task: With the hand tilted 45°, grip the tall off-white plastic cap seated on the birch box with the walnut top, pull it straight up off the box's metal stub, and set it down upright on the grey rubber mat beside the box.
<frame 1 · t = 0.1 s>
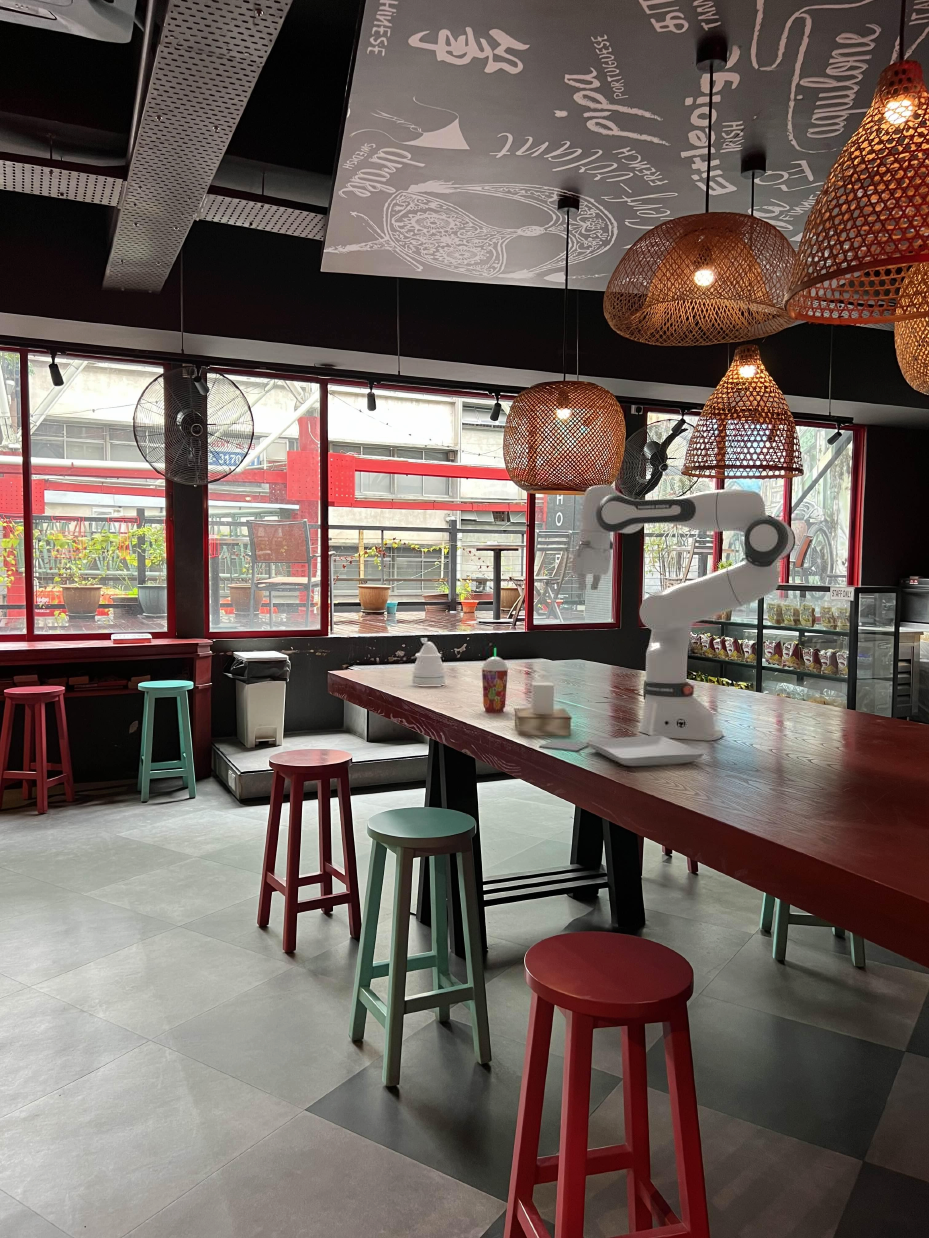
hand: (588, 590, 247), 39 cm above the table, tool pointing down, fingers open, 8 cm apart
box: (541, 730, 238), on the table
honey pot: (428, 685, 333), on the table
smoothie: (494, 712, 270), on the table
salad plate: (642, 760, 204), on the table
mat: (565, 746, 217), on the table
cap: (542, 712, 238), point 5 cm above the table, touching box
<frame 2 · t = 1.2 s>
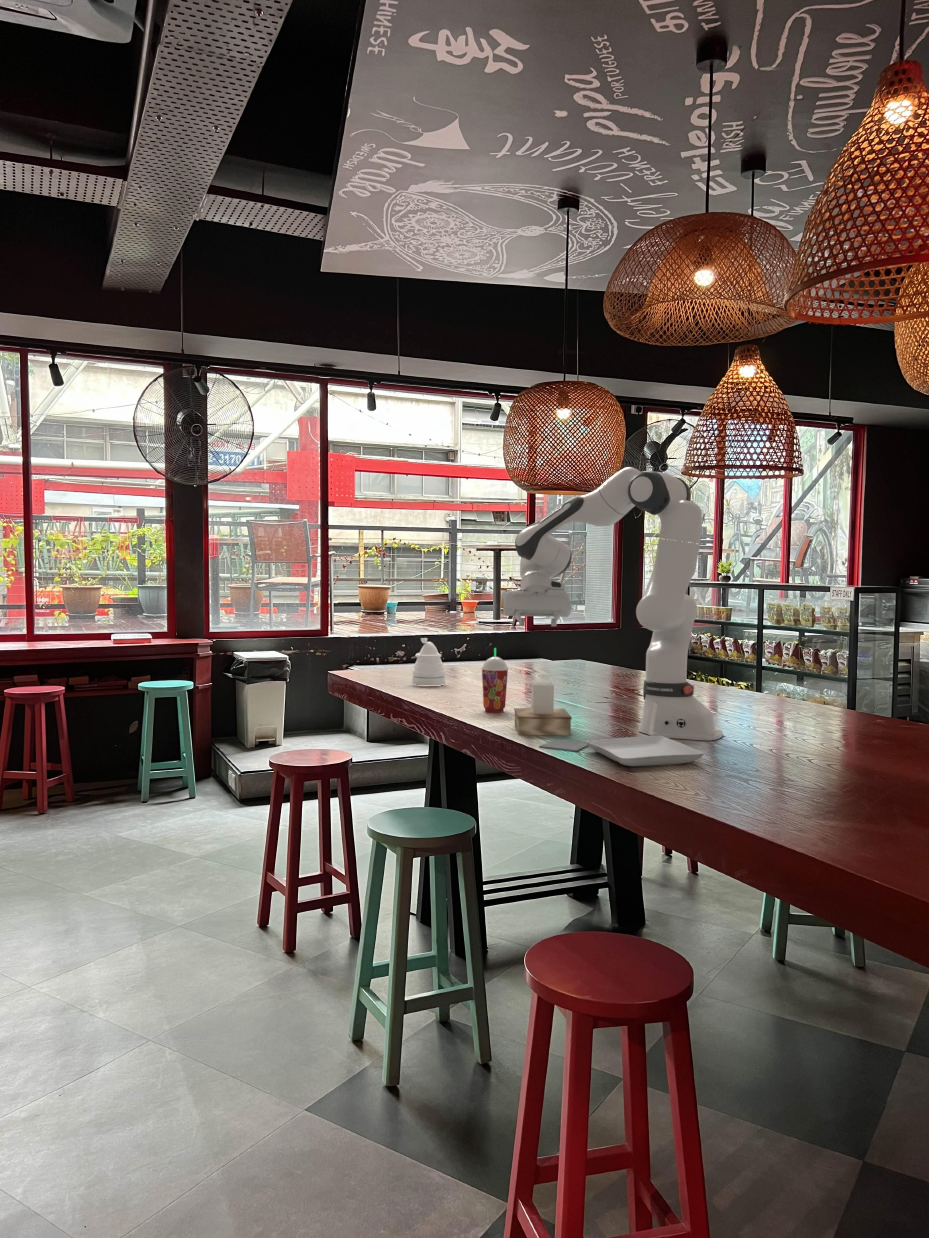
hand: (538, 624, 252), 28 cm above the table, tool tilted 45°, fingers open, 8 cm apart
nothing on the table moved.
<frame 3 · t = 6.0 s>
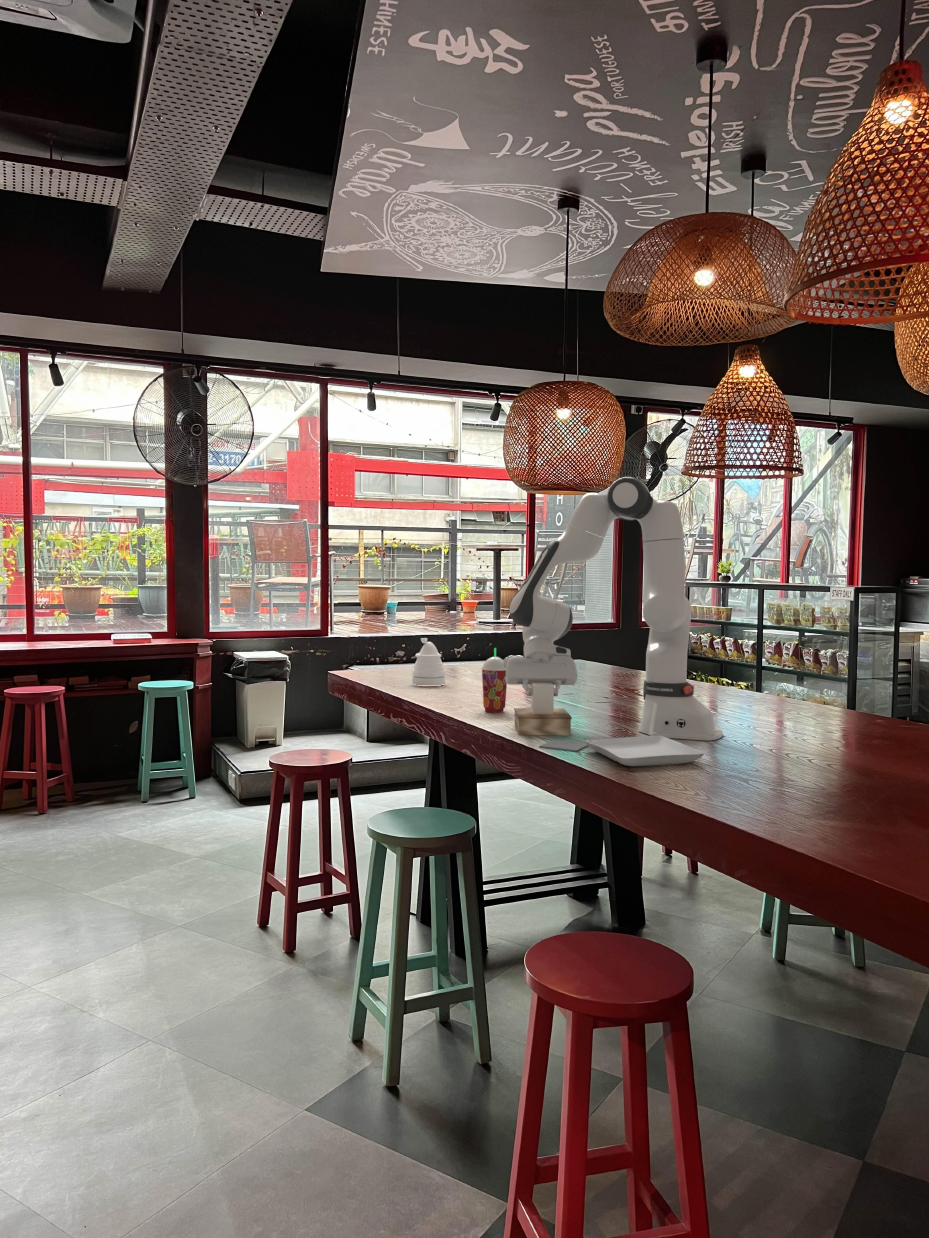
hand: (542, 694, 237), 10 cm above the table, tool tilted 45°, fingers closed on cap, 6 cm apart
cap: (542, 712, 238), point 5 cm above the table, touching box, gripper
everything else where it was.
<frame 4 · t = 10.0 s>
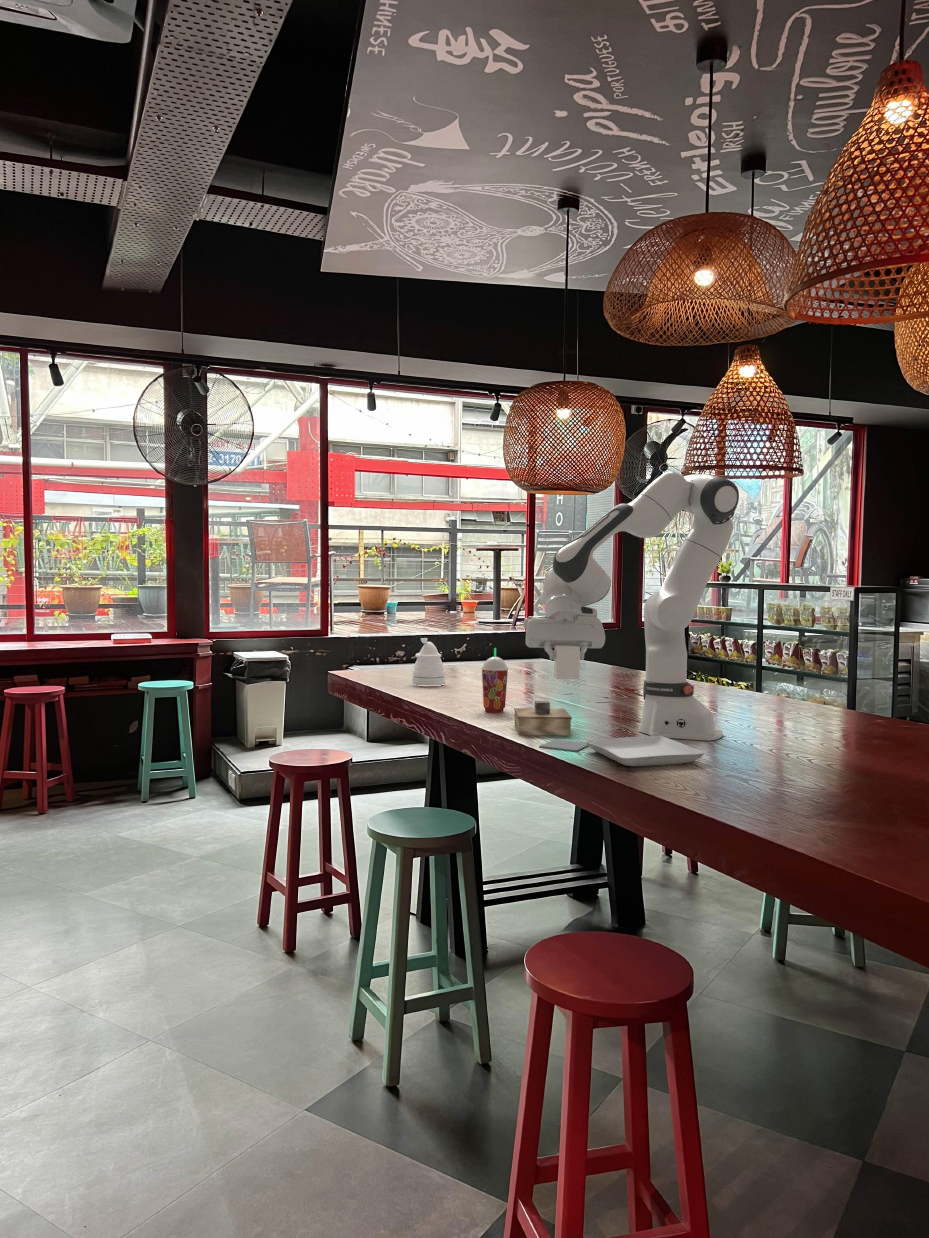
hand: (567, 658, 215), 22 cm above the table, tool tilted 45°, fingers closed on cap, 6 cm apart
cap: (566, 677, 216), point 17 cm above the table, touching gripper
everything else where it was.
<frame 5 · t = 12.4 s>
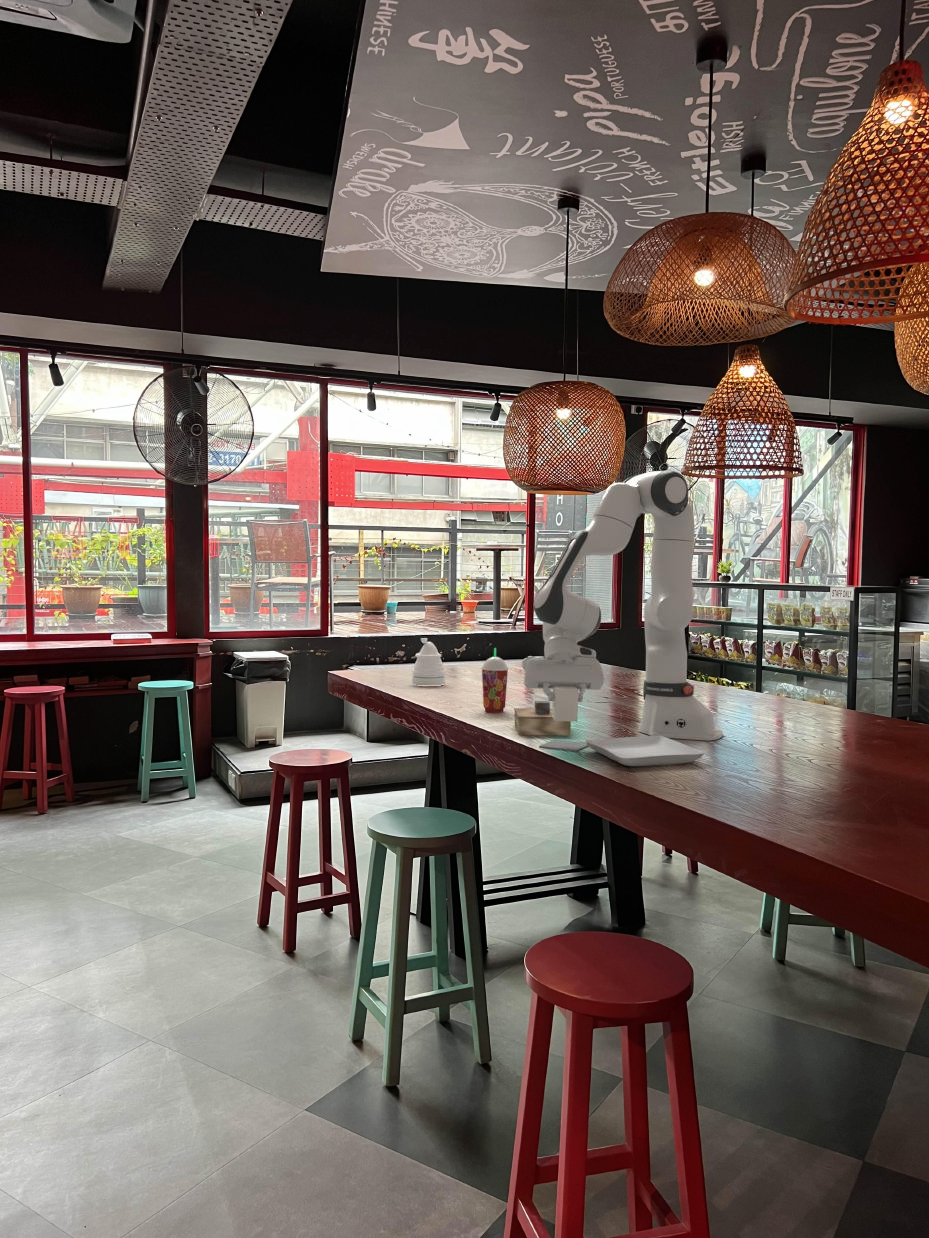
hand: (565, 700, 215), 12 cm above the table, tool tilted 45°, fingers closed on cap, 6 cm apart
cap: (564, 719, 216), point 7 cm above the table, touching gripper
everything else where it was.
when the fingers open (7 cm above the table, at t = 14.6 s): cap drops 2 cm, resting on mat.
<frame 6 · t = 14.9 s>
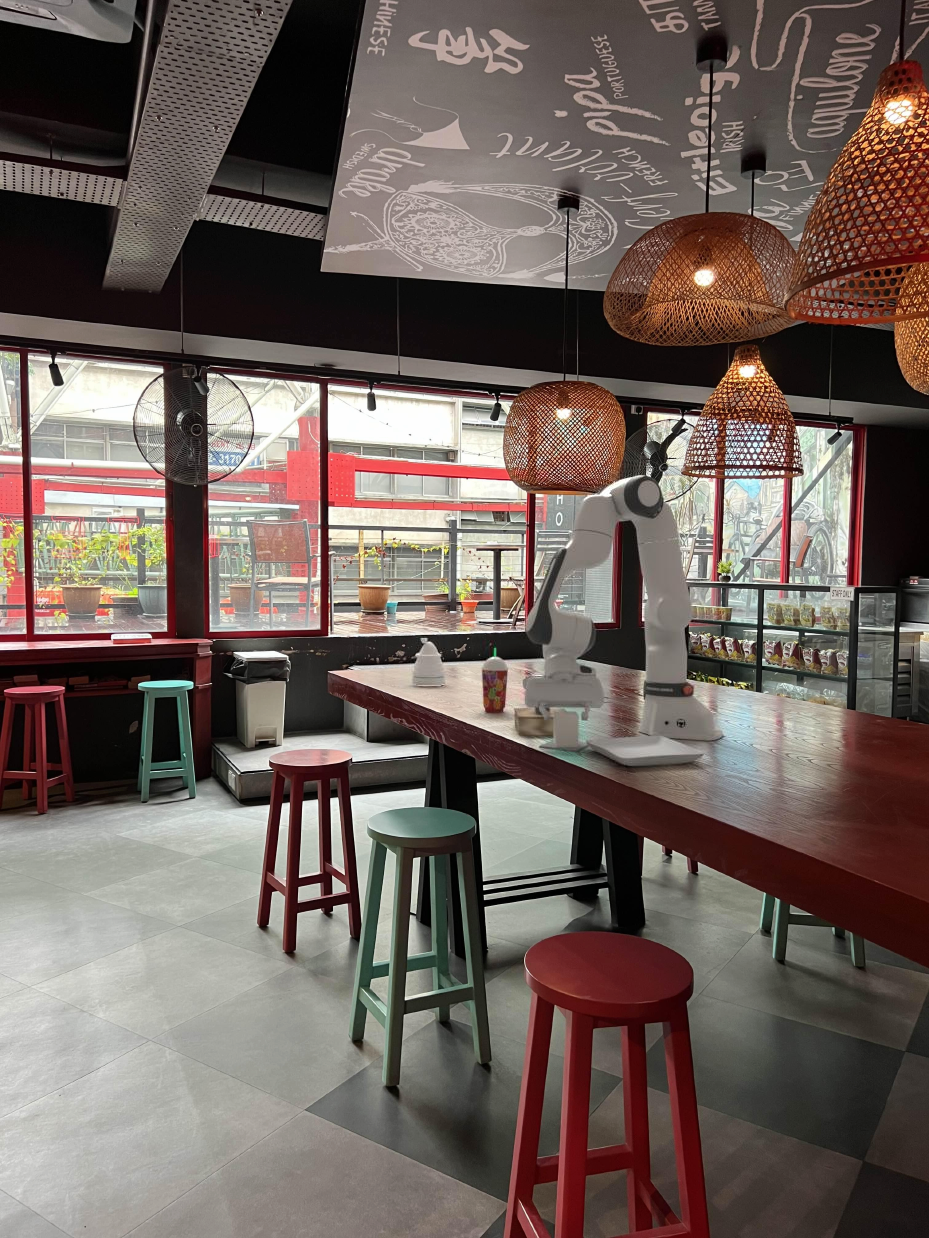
hand: (566, 719, 216), 7 cm above the table, tool tilted 45°, fingers open, 8 cm apart
cap: (565, 744, 217), resting on mat
everything else where it was.
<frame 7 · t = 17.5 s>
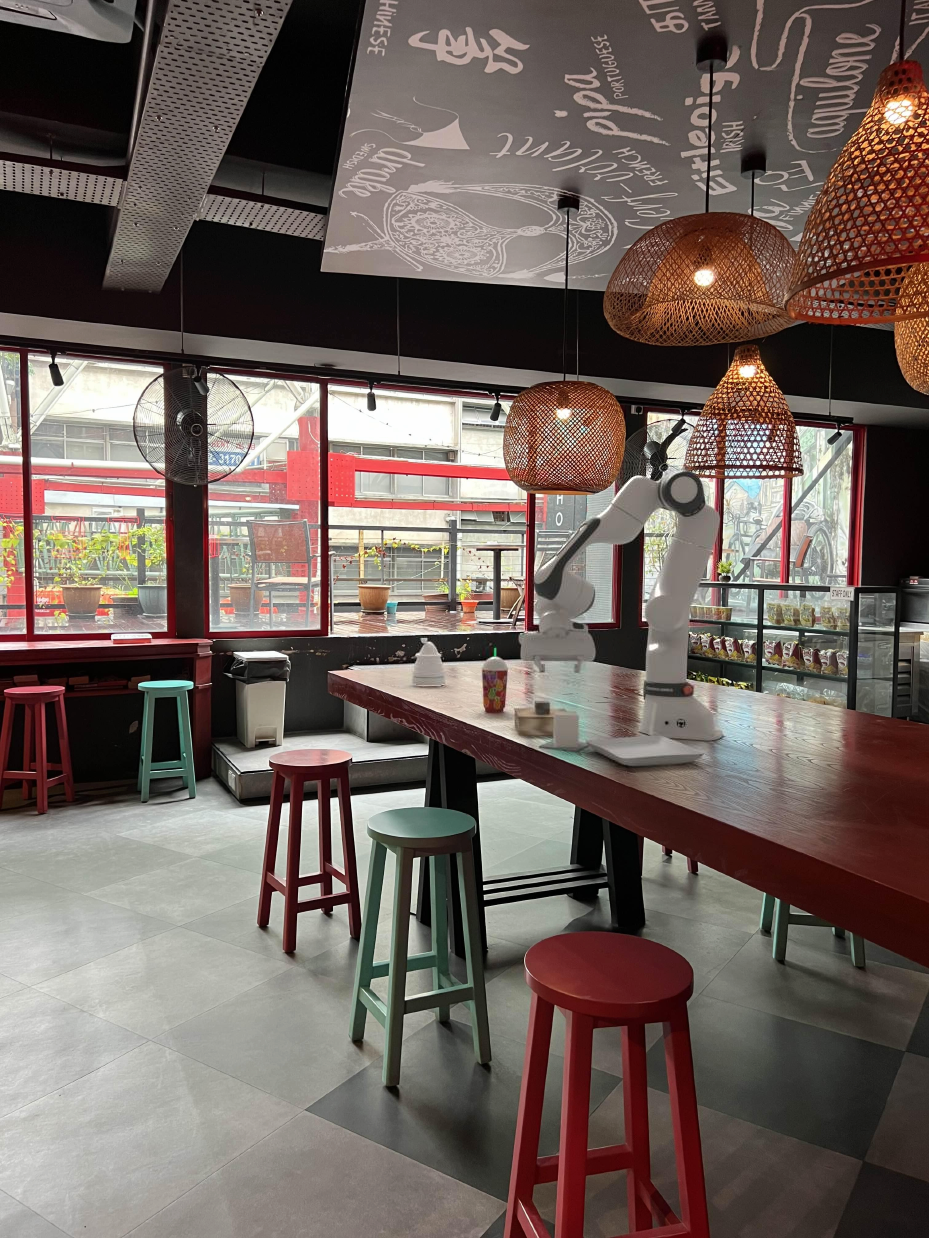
hand: (559, 671, 229), 17 cm above the table, tool tilted 45°, fingers open, 8 cm apart
nothing on the table moved.
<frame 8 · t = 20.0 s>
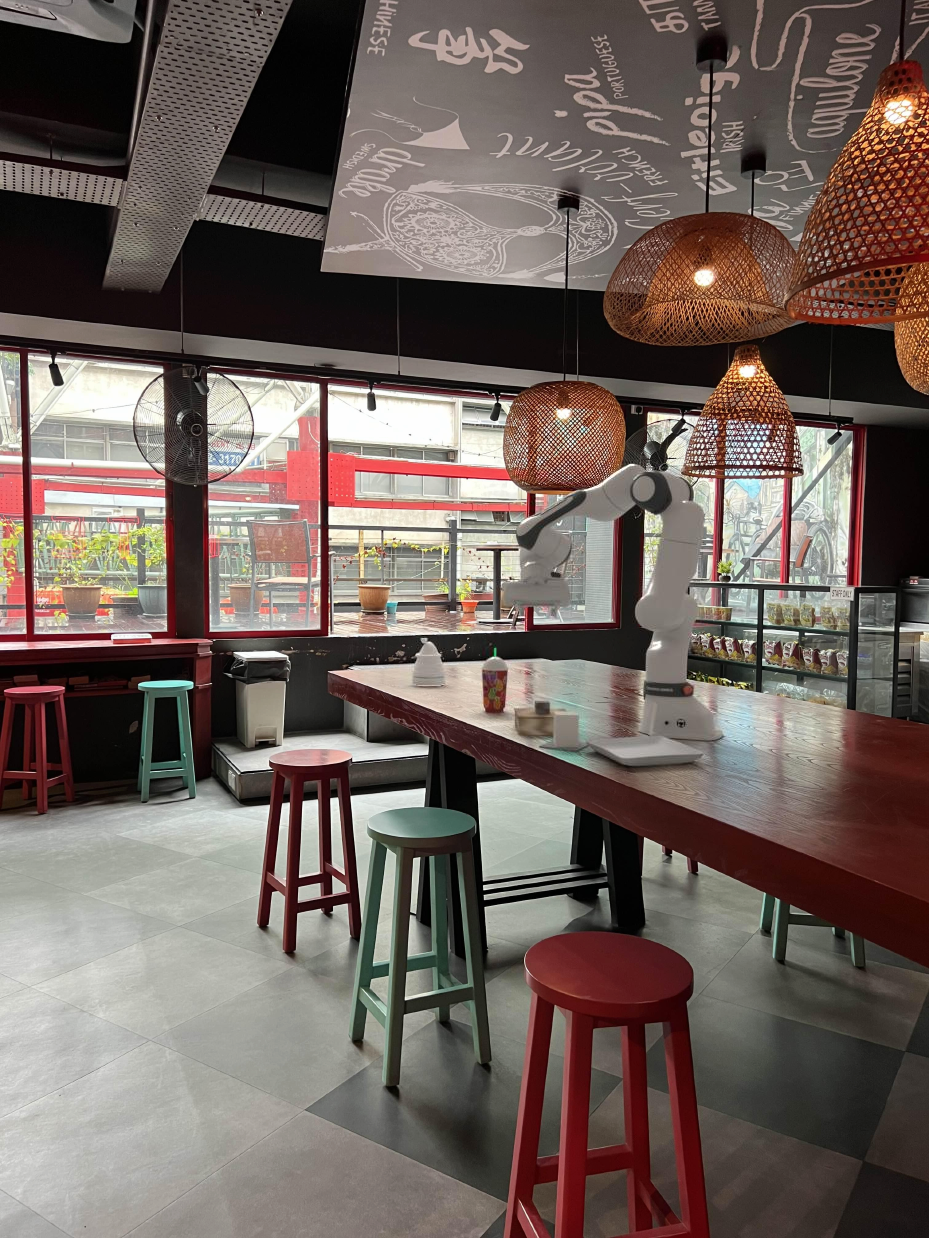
hand: (538, 614, 252), 31 cm above the table, tool tilted 45°, fingers open, 8 cm apart
nothing on the table moved.
at the end: cap inside the target area on the mat (0.1 cm from its centre), point 0.4 cm above the mat's base; cap tilted 0°; cap touching mat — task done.
